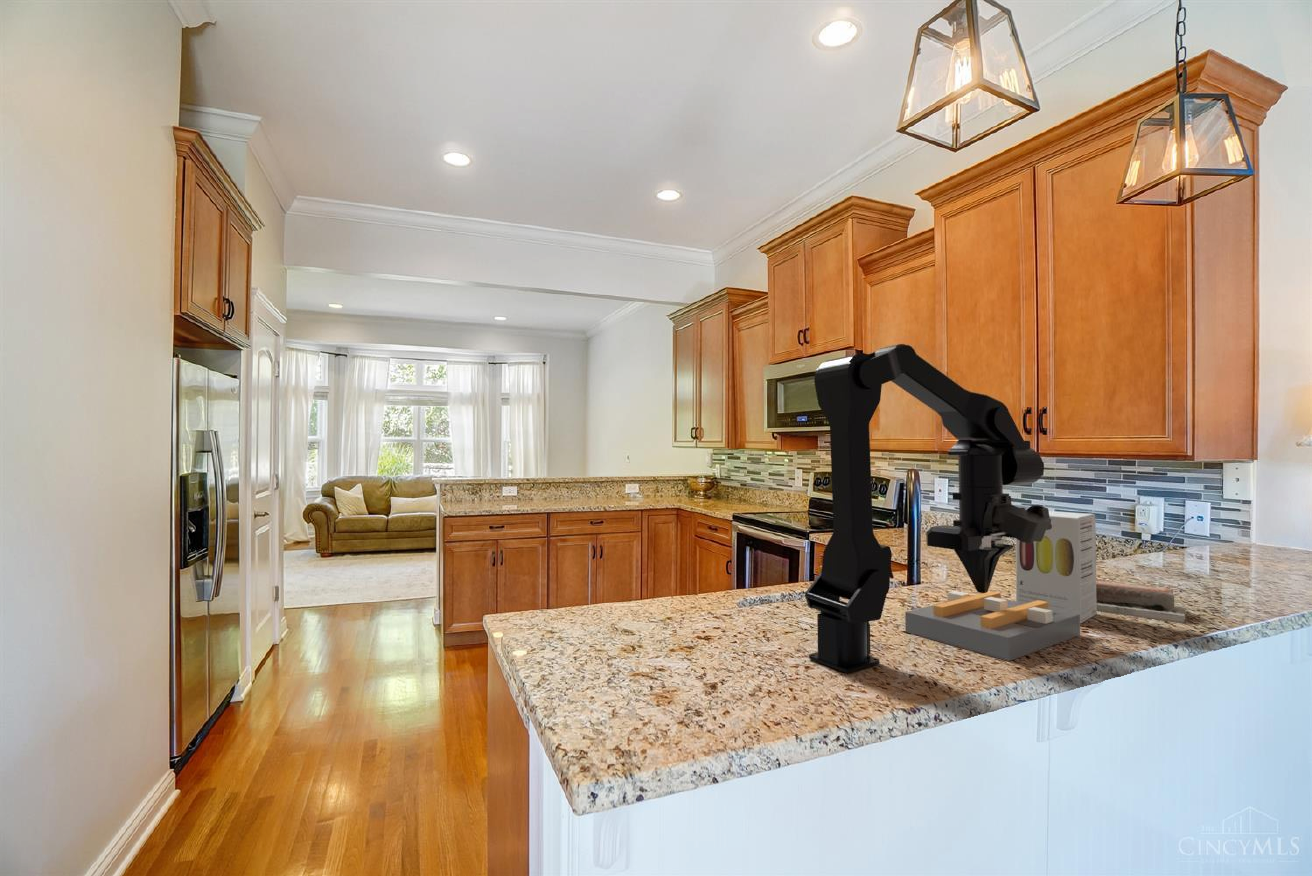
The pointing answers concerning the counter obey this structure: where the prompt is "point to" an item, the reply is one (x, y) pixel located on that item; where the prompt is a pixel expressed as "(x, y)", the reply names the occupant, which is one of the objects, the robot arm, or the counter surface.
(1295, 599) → the counter surface
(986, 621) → the orange bar
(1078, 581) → the supplement box
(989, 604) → the block
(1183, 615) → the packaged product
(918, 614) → the breaker panel
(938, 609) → the orange wooden bar
